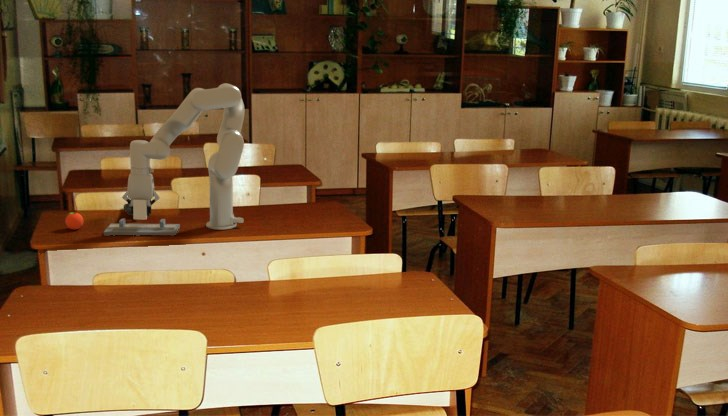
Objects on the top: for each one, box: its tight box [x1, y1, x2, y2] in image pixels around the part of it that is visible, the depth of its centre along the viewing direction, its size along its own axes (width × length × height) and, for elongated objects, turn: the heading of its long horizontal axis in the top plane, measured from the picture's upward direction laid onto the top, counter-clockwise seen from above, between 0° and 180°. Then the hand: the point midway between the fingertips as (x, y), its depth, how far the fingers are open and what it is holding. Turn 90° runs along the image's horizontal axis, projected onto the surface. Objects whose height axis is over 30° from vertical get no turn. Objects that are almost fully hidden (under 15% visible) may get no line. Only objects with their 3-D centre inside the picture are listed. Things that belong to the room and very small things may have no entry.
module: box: [132, 199, 148, 221], centre depth 304 cm, size 5×7×8 cm
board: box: [103, 223, 181, 237], centre depth 306 cm, size 28×13×2 cm, turn 96°
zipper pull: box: [123, 199, 133, 216], centre depth 333 cm, size 9×7×25 cm
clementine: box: [65, 212, 85, 231], centre depth 306 cm, size 8×7×7 cm
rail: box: [108, 218, 176, 229], centre depth 306 cm, size 26×4×3 cm, turn 96°
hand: (141, 214), depth 305 cm, fingers closed on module, 5 cm apart
